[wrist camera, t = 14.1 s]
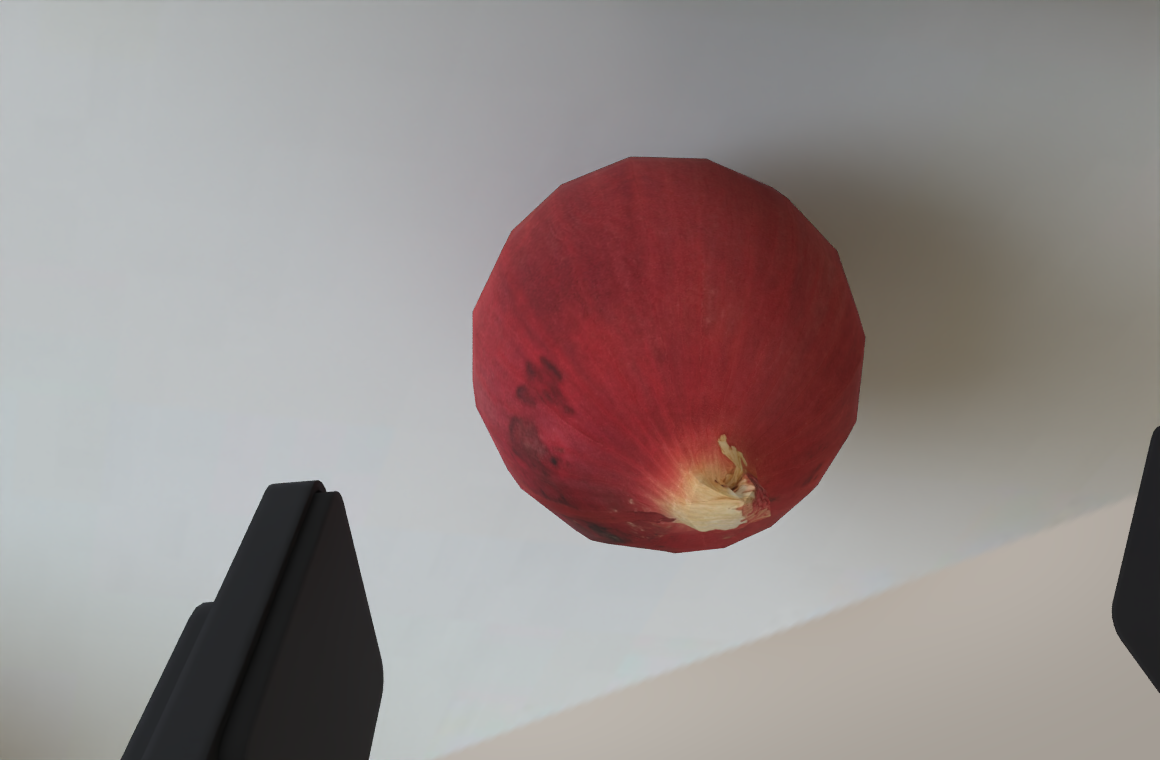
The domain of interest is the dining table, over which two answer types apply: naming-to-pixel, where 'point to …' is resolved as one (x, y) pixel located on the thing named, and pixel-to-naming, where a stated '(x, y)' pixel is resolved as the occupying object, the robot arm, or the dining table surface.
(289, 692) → the robot arm
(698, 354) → the onion
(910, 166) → the dining table surface
